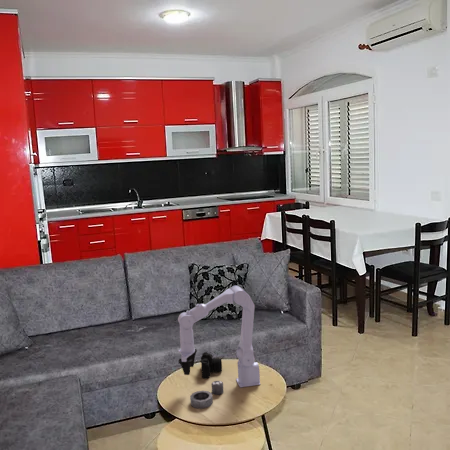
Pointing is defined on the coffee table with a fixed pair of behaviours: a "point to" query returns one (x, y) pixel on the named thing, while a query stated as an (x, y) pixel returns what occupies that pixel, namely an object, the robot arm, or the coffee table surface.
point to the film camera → (210, 365)
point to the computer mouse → (217, 387)
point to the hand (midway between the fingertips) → (189, 370)
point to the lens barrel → (201, 399)
